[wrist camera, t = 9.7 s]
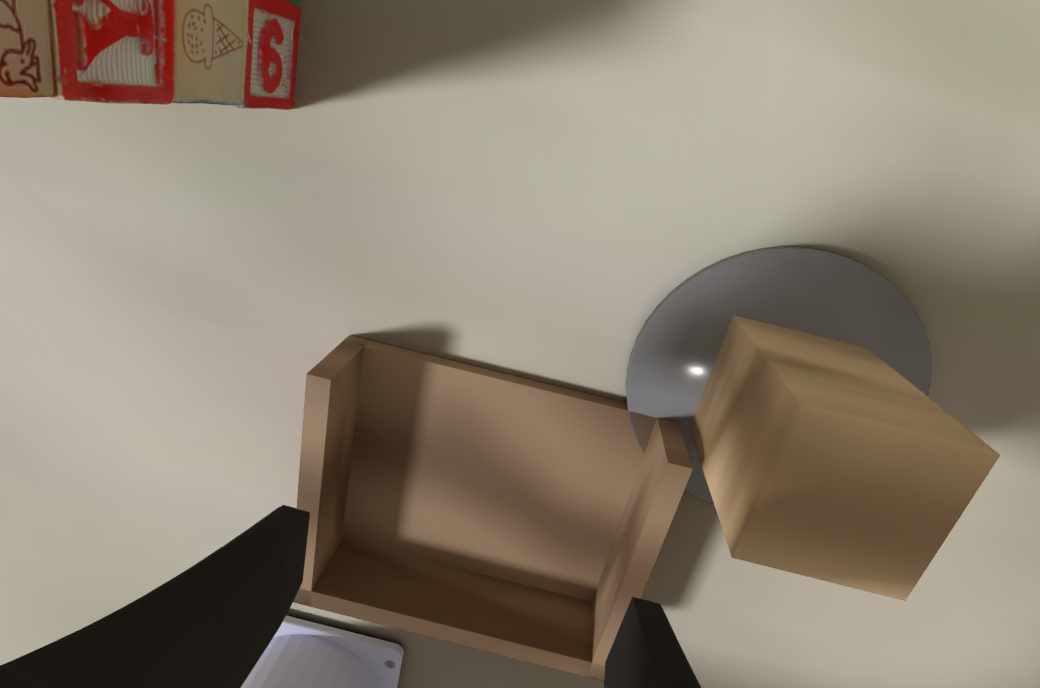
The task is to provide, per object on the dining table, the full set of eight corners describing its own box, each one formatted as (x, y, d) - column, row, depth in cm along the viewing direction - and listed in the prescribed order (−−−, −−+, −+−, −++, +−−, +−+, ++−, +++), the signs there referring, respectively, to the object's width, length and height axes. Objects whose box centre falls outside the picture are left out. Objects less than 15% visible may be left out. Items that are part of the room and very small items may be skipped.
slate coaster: (845, 527, 22) (851, 538, 21) (594, 466, 22) (595, 474, 22) (978, 286, 18) (991, 292, 18) (675, 214, 18) (678, 218, 18)
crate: (604, 608, 25) (607, 682, 21) (328, 539, 25) (289, 601, 22) (676, 415, 21) (692, 468, 18) (349, 335, 21) (306, 374, 18)
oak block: (810, 459, 20) (905, 600, 14) (689, 429, 20) (732, 557, 14) (866, 347, 19) (1000, 455, 13) (733, 315, 19) (803, 406, 13)
